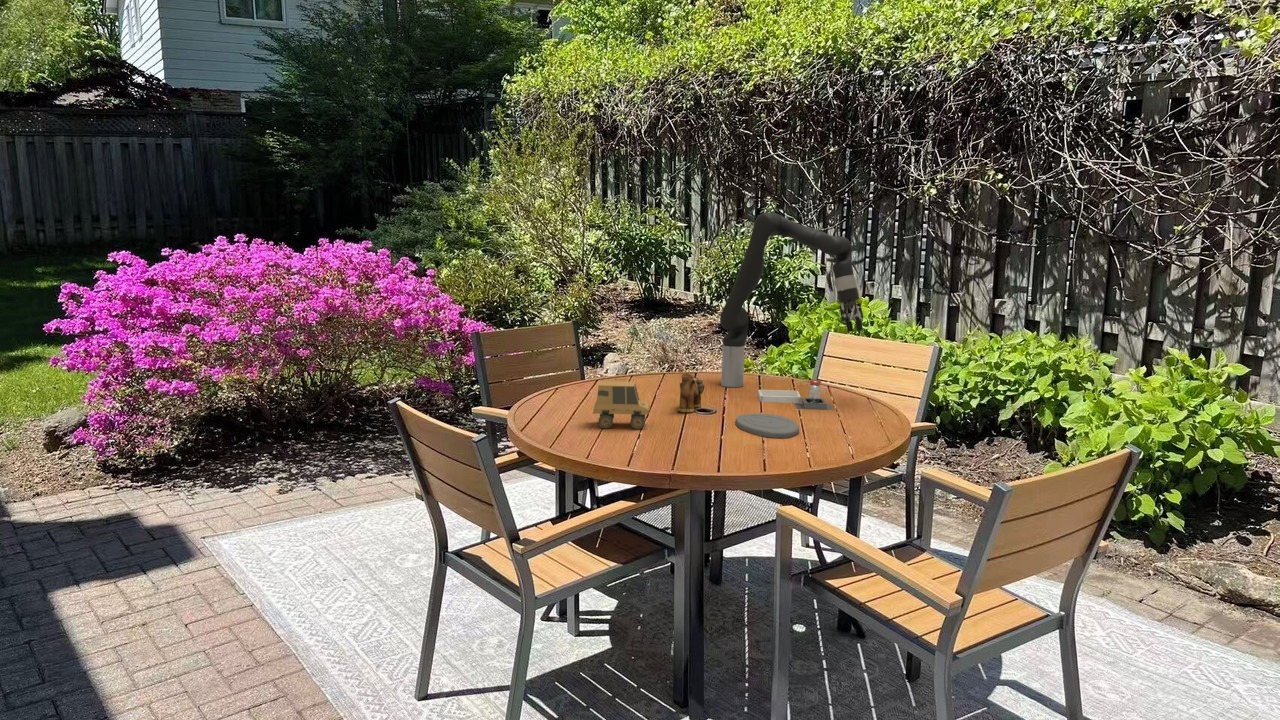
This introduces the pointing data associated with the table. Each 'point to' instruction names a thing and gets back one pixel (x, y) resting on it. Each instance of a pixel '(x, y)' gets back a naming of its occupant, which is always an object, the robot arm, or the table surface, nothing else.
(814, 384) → the pin
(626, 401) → the toy car
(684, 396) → the figurine
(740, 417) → the frisbee
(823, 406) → the hitch
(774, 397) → the tray
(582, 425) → the table surface
